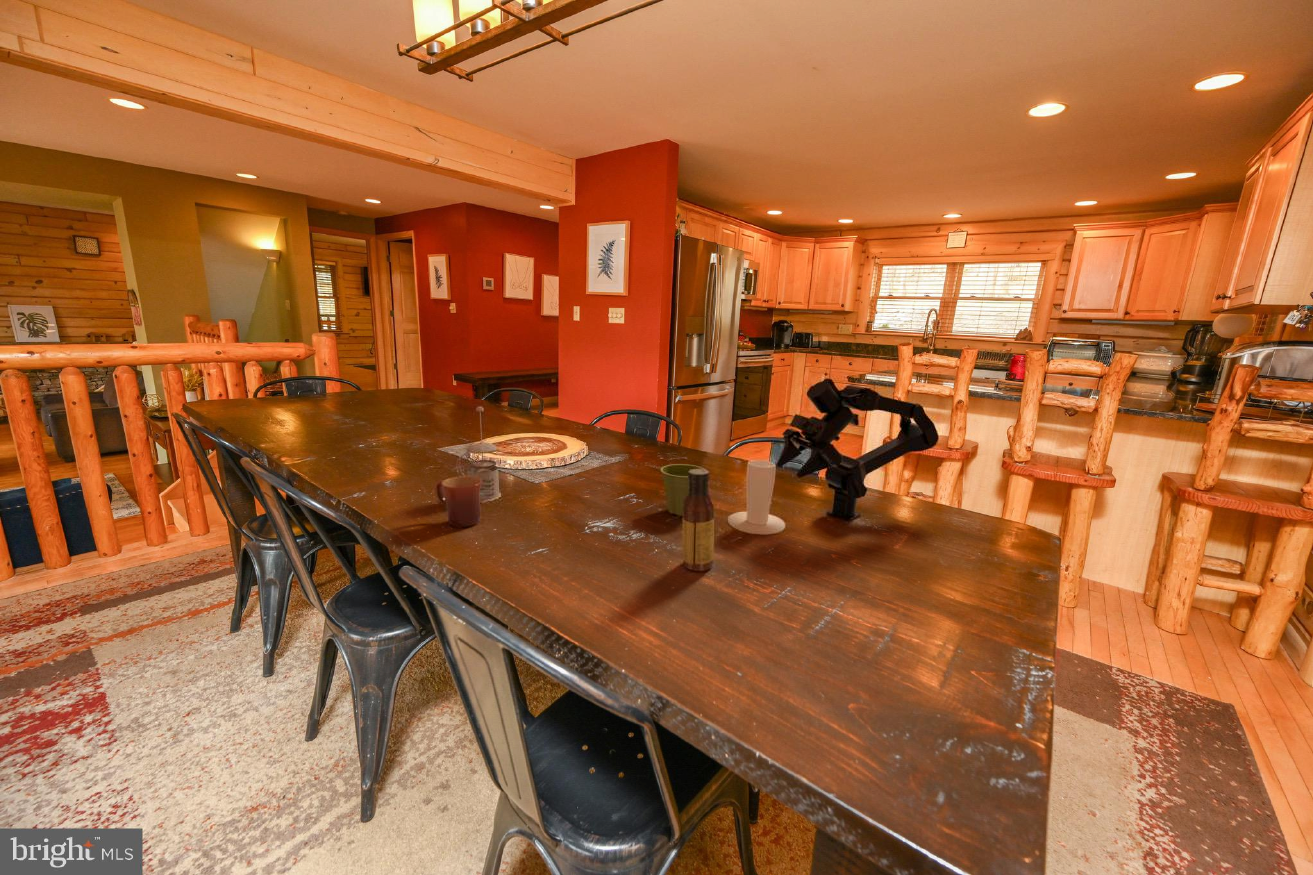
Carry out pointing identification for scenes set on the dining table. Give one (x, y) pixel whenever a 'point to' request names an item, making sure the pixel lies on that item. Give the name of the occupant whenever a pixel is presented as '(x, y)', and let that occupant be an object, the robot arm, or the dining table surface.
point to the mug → (461, 500)
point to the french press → (480, 448)
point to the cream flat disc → (743, 525)
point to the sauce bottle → (698, 523)
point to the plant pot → (676, 485)
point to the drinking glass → (759, 490)
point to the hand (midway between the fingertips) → (787, 471)
